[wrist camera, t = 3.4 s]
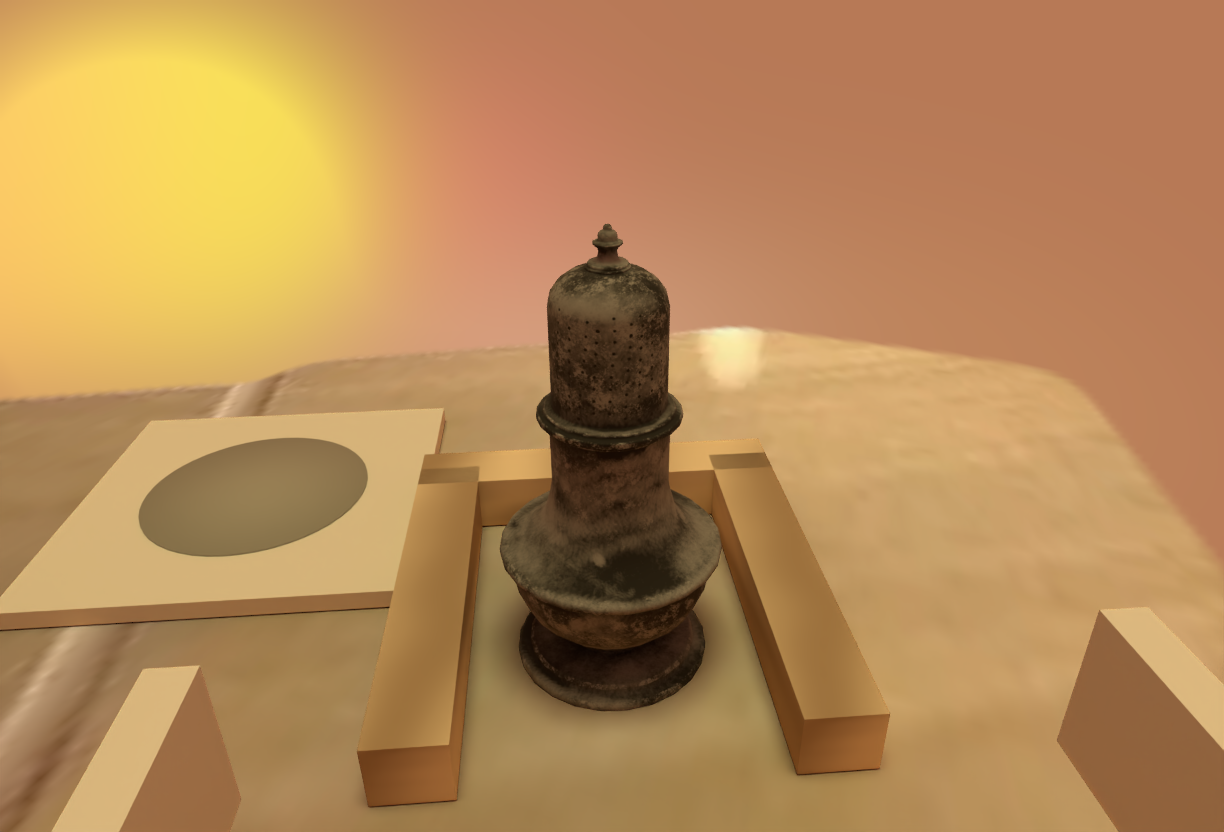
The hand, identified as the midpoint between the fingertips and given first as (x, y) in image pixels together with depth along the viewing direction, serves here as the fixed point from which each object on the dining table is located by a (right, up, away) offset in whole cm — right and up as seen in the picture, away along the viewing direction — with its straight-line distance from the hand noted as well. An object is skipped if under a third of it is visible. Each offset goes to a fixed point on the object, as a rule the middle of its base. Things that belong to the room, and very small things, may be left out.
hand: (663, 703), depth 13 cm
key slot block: (-1, -2, +12) cm, 13 cm away
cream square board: (-13, +1, +18) cm, 22 cm away
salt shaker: (-1, -2, +12) cm, 12 cm away
